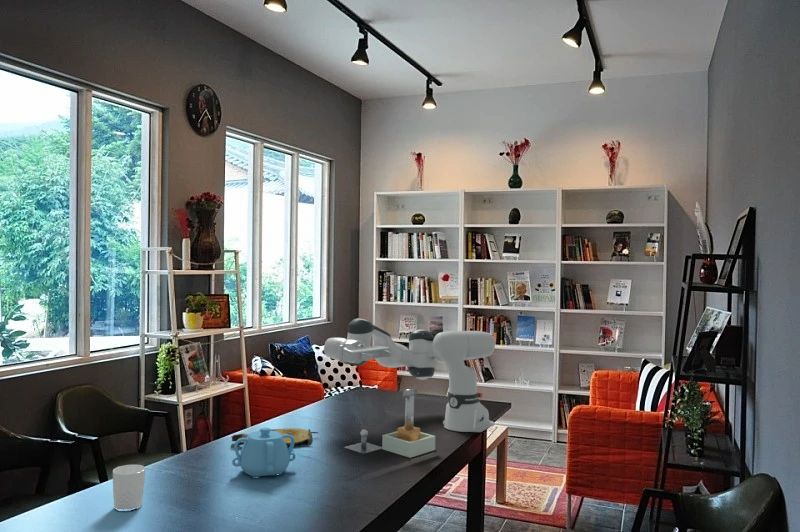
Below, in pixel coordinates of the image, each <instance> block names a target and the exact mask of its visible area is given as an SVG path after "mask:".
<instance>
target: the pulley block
mask: <svg viewBox="0 0 800 532" xmlns="http://www.w3.org/2000/svg"><path fill="white" fill-rule="evenodd" d="M270 429H271V428H270ZM271 431H277V432H279V433H280V434H281V435H284V434H289V435H291V436H293V437H294V440H295V443H294V447H293V448H297V447H298V448H299V447H301V448H312V446H310V444H311V443H312V442H313V440H314V439H313V434H319V432H318V431H311V430H310V428H308V430H307V429H304V428H303V429H302V428H298V427H296V428H295V427H290V428H289V427H287V428H272V429H271ZM248 434H249V433H238V434H233V435H232V436H231V442H236V441H237V440H238V439H240V438H247V436H248ZM284 441H285V443H286V445H287V448H288V450H289V447H290V444H291V439H290V438H288V437H287V438H284ZM244 442H245V441H242V442H241V443H244ZM308 445H309V446H308Z"/></svg>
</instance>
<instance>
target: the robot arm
mask: <svg viewBox="0 0 800 532" xmlns="http://www.w3.org/2000/svg"><path fill="white" fill-rule="evenodd" d="M346 336H347V337H346V338H345V337H329V338H327V339H326V340H325V342H324V345H323V354H325V356H326V357H328V358H330V359H332V360H335V361H338V362H339V363H343V364H344V365H350V366H353V367H355V366H356V367H360V366H363V365H364V364H366V363H367V362H368V361H369V360H375V361H376V362H377V364H378V365H379V366H382V367H385V368H388V369H389V368H395V369H396V368H401V367H406V368H407V369H406V372H408V374H410V375H411V377H413V378H414V379H418V380H421V381H422V380H423V381H424V380H428V379H431V378H432V377H433V376H434V374H435V370H436V368H435V362H437V363H439V364H444V365H445V366H446V368H447V371H448V392H447V401H448V402H447V403H446V405H445V414H444V420H442V425H443V428H445V429H447V430H450V431H453V432H462V433H464V432H465V433H468V432H469V433H470V432H471V433H482V432H483V431H487V430H488V429H489V428H491V427H493V426H495V422H494V421H492V420H490V414H489V410H488V409H487V407H485V406H484V405H483V404H481V402H480V399H479V398H481V399H483V396H484V394H483V392H479V391H477V389H478V386H477V385H478V384H477V383H478V376H477V373H476V371H475V370H474V369H472V368H471V367H470V366H467V365H466V363H465V361H469V360H476V359H482V358H488V357H491V356H492V355H493V354H494V351H495V349H496V342H495V338H494V337H493V335H492V334H491V333H490V332H486V331H481V330H447V331H441V332H438V333H437V334H436V335H435V336H434V335H433V333H432V332H430V331H429V330H425V329H416V330H414V331H411V332H410V333H409V337H408V342H409V343H408V344H409V345H408V347H407V346H405V345H403V344H401V343H399V342H394V339H393V338H392V336H391V334H390V333H389V332H388V331H386V330H384V329H382V328H381V327H378V326H376V325H375V324H373V323H372V322H371V321H368V320H367V319H364V318H354V319H352V320H351V321H350V322H349V323H348V325H347V335H346ZM372 339H373V345H372V346H371V344H372V343H371V342H372Z"/></svg>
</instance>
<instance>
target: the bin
mask: <svg viewBox="0 0 800 532" xmlns="http://www.w3.org/2000/svg"><path fill="white" fill-rule="evenodd" d="M397 433H398V430H397V431H393V432H390V433H385V434H382V441H381V442H382V443H381V445H382V446H381V447H382V449H381V450H384V451H387V452H391V453H394V454H397V455H400V456H404V457H407V458H412V459H408V462H411V461H415V460H418V459H421V457H422V458H424V456H425V457H428V456H430V455H434V454H436V451H435V450H436V435H433V434H429V433H426V432H422V431H420V439H419V440H415V441H412V442H409V441H405V440H402V439H398V438H397ZM427 453H428V454H427ZM423 454H424V455H423ZM420 455H422V456H420ZM417 456H419V457H417ZM413 457H415V458H413Z"/></svg>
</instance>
